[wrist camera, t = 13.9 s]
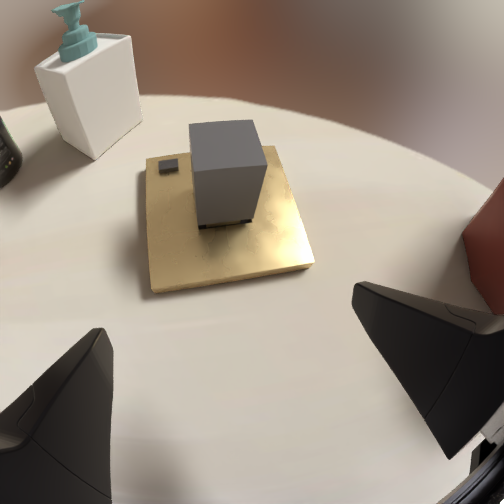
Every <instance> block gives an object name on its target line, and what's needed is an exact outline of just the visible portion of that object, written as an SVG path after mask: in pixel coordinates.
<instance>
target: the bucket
mask: <svg viewBox="0 0 504 504" xmlns="http://www.w3.org/2000/svg"><path fill="white" fill-rule="evenodd" d="M462 235H463V239H464V244H465V248H466V253H467V258H468V264H469V269H470V275H471V282H472V283H473V284H474V286H475V287H476V288H477V290H478V291H479V293H480V294H481V295H482V297H483V298H484V300H485V301H486V303H487V304H488V306H489V307H490V309H491V310H492V312H493V313H494V315H499V314H504V178H503V179H502V181H501V182H500V183H499V185H498V186H497V187H496V189H495V190H494V192H493V193H492V194H491V195H490V197H489V198H488V199H487V201H486V202H485V203H484V205H483V206H482V207H481V208H480V210H479V211H478V212H477V213H476V214H475V216H474V217H473V219H472V220H471V221H470V223H469V224H468V226H467V227H466V228H465V230H464V231H463V232H462Z"/></svg>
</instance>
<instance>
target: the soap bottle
mask: <svg viewBox="0 0 504 504" xmlns="http://www.w3.org/2000/svg"><path fill="white" fill-rule="evenodd" d="M83 2H84V0H82V1H80V2H77V3H71V4H66V5H61V6H59V7H57V8H55V9H53V10H51V11H52V12H53V13H54V12H55V13H56V14H57V15H58V16H59V17H61V16H63V17H64V22H65V23H66V24H67V25H68V28H69V31H67V32H65V33H64V34H63V36H62V40H63V44H62V45H61V46H60V47H59V49H58V52H56V53H55V54H53V55H52V56H50V57H49V58H47V59H45V60H44V61H43V62H41V63H40V64H38V65H37V66H36V67H34V69H35V73H36V76H37V78H38V81H39V83H40V86H41V89H42V91H43V94H44V97H45V99H46V102H47V104H48V107H49V109H50V111H51V114H52V116H53V118H54V121H55V123H56V125H57V127H58V130H59V132H60V134H61V136H62V138H63V140H64V141H66V142H67V143H69V144H70V145H72V146H73V147H75V148H76V149H78V150H80V151H81V152H83V153H84V154H86V155H87V156H89V157H90V158H92V159H93V160H97V159H98V158H99V157H100V156H101V155H102V154H103V153H104V152H105V151H106V150H108V149H109V148H110V147H111V146H112V145H113V144H114V143H116V142H117V141H118V140H119V139H120V138H122V137H123V136H124V135H125V134H126V133H128V132H129V131H130V130H131V129H133V128H134V127H135V126H136V125H138V124H139V123H140V122H142V121H143V115H142V109H141V104H140V98H139V92H138V86H137V79H136V73H135V66H134V58H133V50H132V42H131V36H129V35H118V34H117V35H116V34H102V33H94V32H89V31H88V26H87V25H80V26H79V22H78V21H79V18H80V9H79V4H80V3H83Z"/></svg>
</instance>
